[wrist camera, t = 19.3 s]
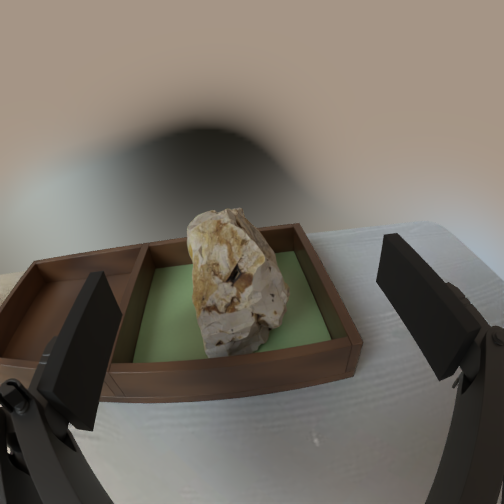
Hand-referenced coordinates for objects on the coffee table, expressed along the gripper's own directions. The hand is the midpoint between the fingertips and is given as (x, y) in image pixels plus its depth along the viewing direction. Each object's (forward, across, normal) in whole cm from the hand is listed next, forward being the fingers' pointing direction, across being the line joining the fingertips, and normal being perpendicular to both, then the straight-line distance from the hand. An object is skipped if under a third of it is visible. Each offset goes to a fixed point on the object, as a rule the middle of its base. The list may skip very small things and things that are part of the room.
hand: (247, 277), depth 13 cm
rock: (+8, 0, -9) cm, 12 cm away
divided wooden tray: (+8, -10, -10) cm, 16 cm away
